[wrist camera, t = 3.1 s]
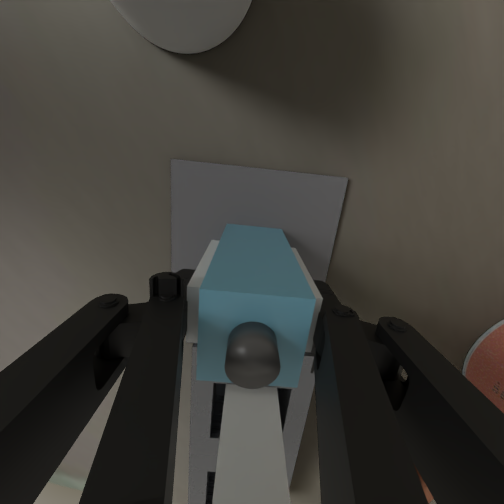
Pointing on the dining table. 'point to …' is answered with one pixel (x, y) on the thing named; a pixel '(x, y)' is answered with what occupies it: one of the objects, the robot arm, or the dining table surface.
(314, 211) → the mat
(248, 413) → the white knobbed block
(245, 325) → the plug
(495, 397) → the canned food
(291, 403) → the strip
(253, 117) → the dining table surface
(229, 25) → the mug
